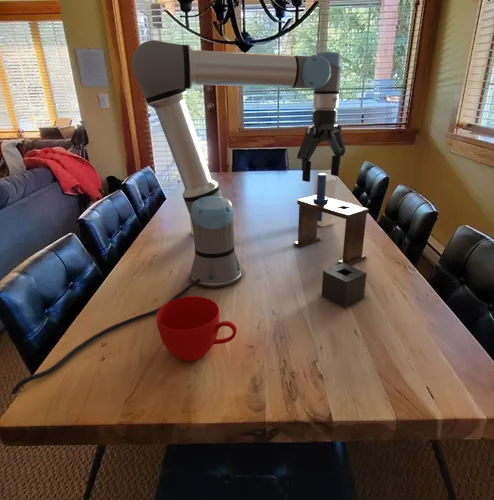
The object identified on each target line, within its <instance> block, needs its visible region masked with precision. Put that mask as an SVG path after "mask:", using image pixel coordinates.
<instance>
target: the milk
mask: <svg viewBox="0 0 494 500" xmlns="http://www.w3.org/2000/svg"><path fill="white" fill-rule="evenodd" d="M320 173H323V174H326V190H325V197H328V198H331V199H335V200H336V184H337V179H336V176H333V175H331V169H327V170H322V171H321V170H320V172H319V174H320ZM317 180H318V176H316V177H315V178H314V186H313V196H315V195H317ZM333 224H334V215H331V214H328V213H324V212H322V221H317V226H320V227H322V228H323V227H326V226H327V227H328V226H331V225H333Z"/></svg>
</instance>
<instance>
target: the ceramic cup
mask: <svg viewBox="0 0 494 500" xmlns="http://www.w3.org/2000/svg"><path fill="white" fill-rule="evenodd" d="M169 301H170V300H169ZM169 301H167V302H166V303H164V304H163V305H162V306H160V307H161V308H160V307H159V308H160V309H159V310H158V312H157V313H156V314H155V315H156V316H155V321H156V322H155V323H156V326H157V331H158V334H159V337H160V339H161V341H162V344H163V346H164V347H165V348H166V349H167V351H168V352H169V353H171V354H172V355H173V356H175V357H176V358H178V359H180V360H182V361H186V362H195V361H198V360H199V359H202V358H203V357H204V356H205V355H206V354H207V353H208V352H210V350H211V349H212V347H213V346H214V345H221V344H227V343H229V342H231V341H232V340H234V338H235V337H236V335H237V333H238V329H237V326H236V324H235V323H233V321H230V320H223V321H220V308H219V305H218V303H217V302H216V301H214V300H212V299H210V298H208V297H204V296H200V295H199V296H198V295H191V296H189V295H188V296H180V297H179V298H177V299H174V300H172V301H170V302H169ZM222 327H229V328H230V329H231V330H232V334H231V335H230V336H228V337H225V338H218V334H219V329H221V328H222Z"/></svg>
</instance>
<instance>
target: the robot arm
mask: <svg viewBox="0 0 494 500" xmlns="http://www.w3.org/2000/svg"><path fill="white" fill-rule="evenodd" d="M131 57H132V58H131V69H132V74H133V76H134V78H135V79H136V81H137V83H138V84H139V87H140V89H141V91H142V95H143V97H144V99H145V102H146V104H147V105H148V106H149V107H150V108H153V109H154V110H155V113H156V115H157V119H158V121H159V124H160V125H161V129H162V132H163V134H164V137H165V140H166V142H167V144H168V147H169V150H170V153H171V155H172V158H173V161H174V164H175V166H176V168H177V171H178V174H179V176H180V179H181V181H182V184H183V188H184V190H183V192H182V198H183V200H184V203H185V206H186V209H187V212H188V214H189V218H190V217H191V221H190V223H191V222H192V226H193V234H194V236H193V244H194V245H193V246H194V257H193V261H192V265H191V269H190V280H191V281H192V283H190V284H189V285H188V286H186V287H185V288H184V289H182V290H181V291H180V292H179V293H177V294H176V295H174V296H173V297H172V298H170V300H169V301H168V302H170V301H172V300H174V299H177V298H181V297H182V296H183V295H184V294H186V292H188V291H189V290H190V289H192V288H194V286H196V285H197V286H198V287H201V288H208V289H209V288H210V289H220V288H226V287H229V286H232V285H234V284H236V283H237V282H239V281H240V280H241V278H242V266H241V264H240V262H239V259H238V256H237V255H236V251H235V229H234V227H235V226H234V223H235V222H234V217H235V211H234V207H233V204H232V201H230V200H229V199H227V198H226V197H223V194H222V191H221V188H220V186H219V183H218V181H215V180H213V179H212V177H211V174H210V171H209V169H208V165H207V163H206V160H205V157H204V154H203V151H202V148H201V145H200V142H199V139H198V136H197V133H196V130H195V128H194V124H193V121H192V119H191V115H190V112H189V109H188V107H187V104H186V101H185V98H186V96H187V93H188V90H191V89H192V88H193V87H194V86H196V85H197V86H227V87H259V88H260V87H262V88H278V89H286V90H288V89H311V90H313V100H312V102H313V103H312V108H313V111H312V118H311V119H312V120H311V121H312V123H313V126H306V128H305V131H304V133H305V134H304V136H303V139H302V142H301V145H300V146H299V150H298V153H297V155H296V159H298V160H300V161H301V171H302V174H301V175H302V176H301V177H302V179H301V181H302V182H306V183H310V182H311V172H312V171H311V169H312V161H311V160H310V159H311V158H312V156H313V154H314V153H315V151H316V149H317V148H318V146H319V145H320V143H322V142H325V141H326V142H327V143H328V145H329V147H330V149H331V151H332V154H333V155H332V156H331V169H330V170H331V175H333V176H334V177H339V174H340V166H341V158H342V157H344V155H345V154H346V152H347V149H346V146H345V142H344V136H343V133H342V124H336V123H337V122H338V110H337V109H338V108H339V96H340V95H339V94H340V85H341V75H342V54H341V53H340V52H336V51H325V52H322V51H321V52H317V53H316V54H313V55H292V54H276V53H275V54H273V53H259V52H258V53H257V52H255V53H254V52H240V51H239V52H236V51H220V50H219V51H216V50H201V49H194V48H193V47H191V45H190V44H181V43H180V44H179V43H171V42H166V41H162V40H153V39H152V40H147V41H144V42H142V43H141V44H139V45H138V47H136V48H135V50H134V52H133V54H132V56H131ZM161 307H162V306H159V307H158V308H156V309H154V310H151V311H148V312H145V313H142V314H139V315H136V316H134V317H131V318H128V319H126V320H124V321H121V322H117V323H115V324H114V325H111V326H109V327H107V328H105V329H103V330H101V331H99V332H98V333H96V334H94V335H93V336H91V337H89V338H87V339H86V340H84V342H82V343H80V344H79V345H78V346H76V347H75V348H73V349H72V350H71V351H69V352H68V353H67V354H66V355H65V356H63V357H62V359H60V360H59V361H58V362H57V363H55V364H54V365H52V366H51V367H49V368H48V369H45V370H44V371H41V372H38V373H34V374H32V375H28V376H27V377H24V378H23V379H22V380H20V381H19V382H18V383H17V384H16V385H15V386H14V387H13V388H12V391H11V393H10V395H15V394H17V393H18V392H19V390H20V389H21V388H22V387H23V386H24V385H25V384H27V383H29V382H32V381H34V380H38V379H40V378H44V377H45V376H48V375H50V374H51V373H54V371H56V370H58V369H59V368H60V367H61V366H63V365H64V364H65V363H66V362H67V361H68V360H70V359H71V357H73V356H74V355H75V354H77V353H78V352H79V351H80V350H82V349H83V348H85V347H86V346H88V345H89V344H90V343H92V342H94V341H96V340H97V339H98V338H100V337H102V336H104V335H106V334H107V333H110V332H112V331H114V330H116V329H118V328H120V327H123V326H125V325H128V324H131V323H133V322H135V321H137V320H141V319H143V318H147V317H149V316H150V317H151V316H152V315H156V314H157V312H158V310H159V309H160V308H161Z"/></svg>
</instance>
